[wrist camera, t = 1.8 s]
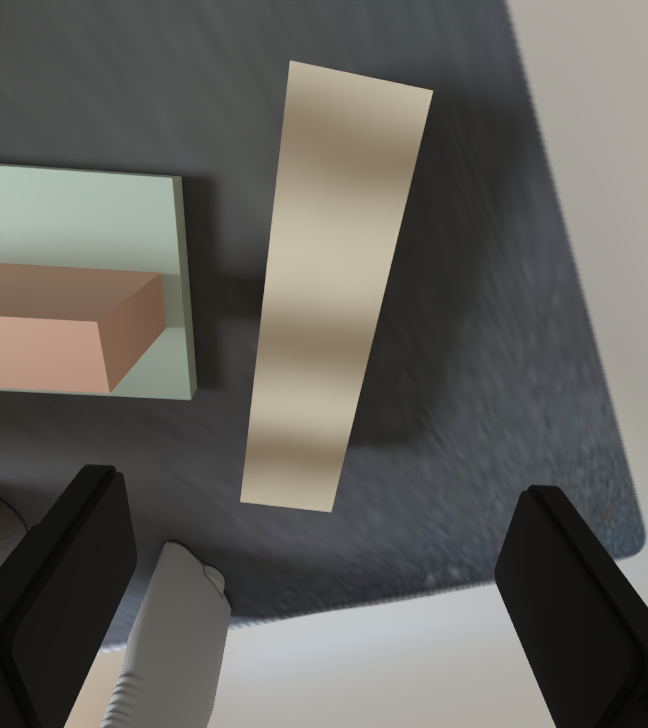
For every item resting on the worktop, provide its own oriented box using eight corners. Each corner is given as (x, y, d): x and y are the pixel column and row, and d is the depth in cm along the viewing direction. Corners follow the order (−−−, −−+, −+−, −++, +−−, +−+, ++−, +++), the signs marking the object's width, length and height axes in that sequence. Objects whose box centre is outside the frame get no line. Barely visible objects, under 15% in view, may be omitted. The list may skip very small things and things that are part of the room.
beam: (297, 85, 20) (290, 60, 14) (401, 107, 20) (433, 90, 15) (254, 435, 28) (240, 501, 23) (328, 445, 29) (331, 512, 23)
